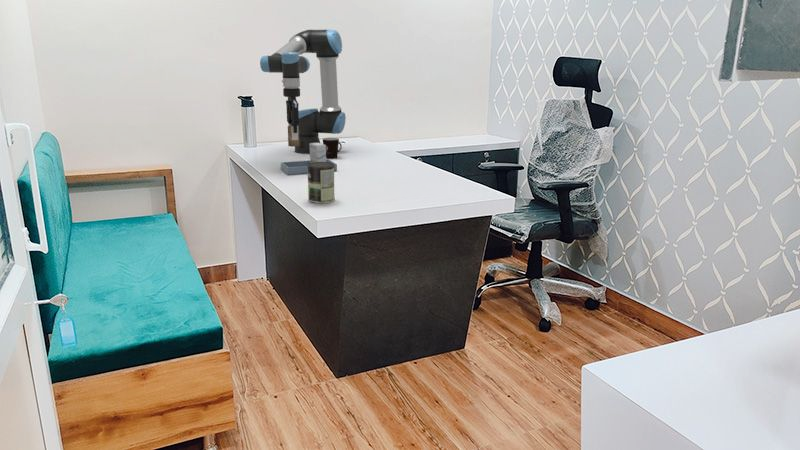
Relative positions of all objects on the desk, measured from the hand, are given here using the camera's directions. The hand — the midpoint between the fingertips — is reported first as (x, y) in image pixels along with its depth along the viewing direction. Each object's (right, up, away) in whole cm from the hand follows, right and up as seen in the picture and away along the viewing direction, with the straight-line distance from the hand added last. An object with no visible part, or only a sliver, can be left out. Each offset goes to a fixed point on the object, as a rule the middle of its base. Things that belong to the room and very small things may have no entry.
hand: (293, 138), depth 276 cm
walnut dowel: (0, -3, +1) cm, 3 cm away
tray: (+6, -14, +7) cm, 17 cm away
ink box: (+10, -13, +9) cm, 19 cm away
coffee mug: (+13, -5, +38) cm, 40 cm away
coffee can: (+19, -30, -45) cm, 57 cm away
